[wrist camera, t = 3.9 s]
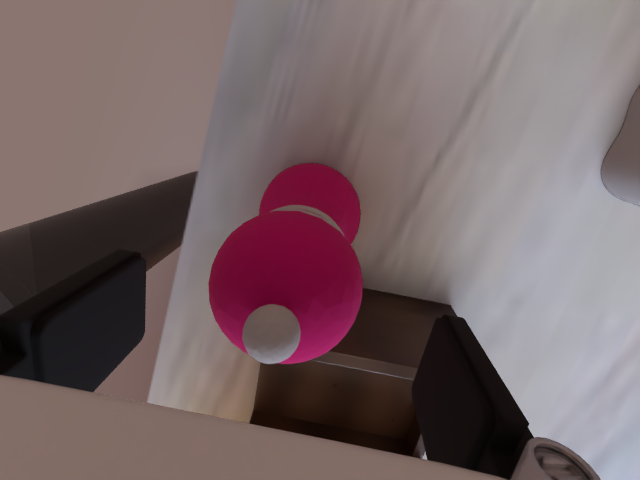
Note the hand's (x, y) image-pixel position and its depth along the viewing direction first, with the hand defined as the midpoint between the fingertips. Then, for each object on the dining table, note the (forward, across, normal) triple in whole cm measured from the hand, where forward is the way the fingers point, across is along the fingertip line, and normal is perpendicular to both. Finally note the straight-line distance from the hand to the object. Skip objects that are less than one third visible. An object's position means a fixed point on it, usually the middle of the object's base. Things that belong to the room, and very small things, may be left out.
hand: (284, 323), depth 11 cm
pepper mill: (+19, 0, 0) cm, 19 cm away
